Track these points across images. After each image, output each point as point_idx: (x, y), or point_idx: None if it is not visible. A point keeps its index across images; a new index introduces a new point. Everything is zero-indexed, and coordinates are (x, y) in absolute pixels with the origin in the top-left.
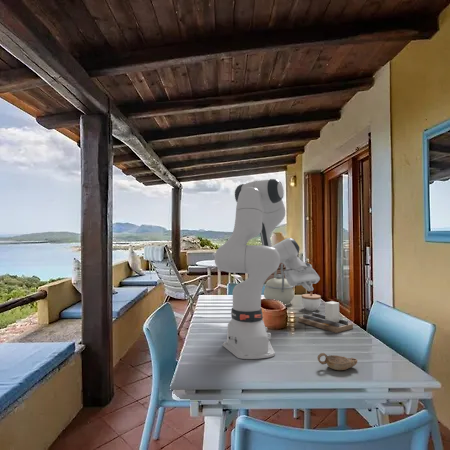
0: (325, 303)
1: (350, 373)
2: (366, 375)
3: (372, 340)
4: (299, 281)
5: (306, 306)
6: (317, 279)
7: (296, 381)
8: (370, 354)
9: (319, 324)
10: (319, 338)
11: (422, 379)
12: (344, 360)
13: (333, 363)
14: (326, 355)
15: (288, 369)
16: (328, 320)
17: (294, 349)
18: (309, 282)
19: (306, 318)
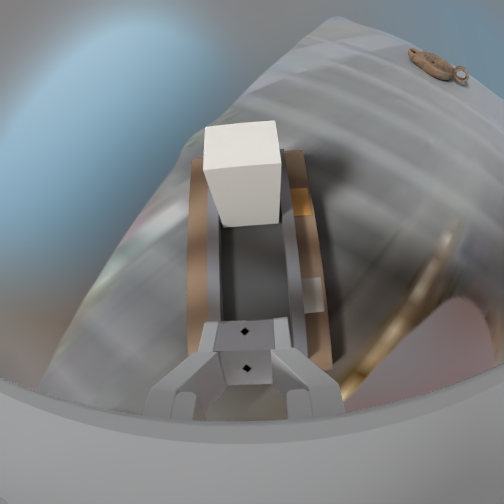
0: (280, 165)
1: None
2: (406, 48)
3: (259, 87)
4: (471, 378)
5: None
6: (8, 382)
7: (493, 93)
8: (344, 60)
9: (316, 228)
10: (394, 157)
11: (343, 20)
12: (427, 60)
13: (449, 64)
14: (458, 66)
15: (498, 113)
16: (281, 196)
17: (479, 149)
18: (193, 407)
19: (307, 332)
